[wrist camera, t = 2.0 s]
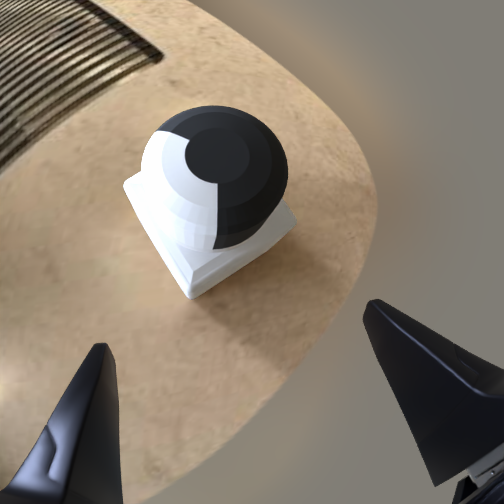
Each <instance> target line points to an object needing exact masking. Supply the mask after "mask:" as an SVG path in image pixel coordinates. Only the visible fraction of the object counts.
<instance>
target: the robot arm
mask: <svg viewBox="0 0 504 504" xmlns="http://www.w3.org/2000/svg"><path fill="white" fill-rule="evenodd" d="M363 323H364V326H365V329H366V331H367V334H368V336H369V339H370V342H371V344H372V347H373V350H374V352H375V355H376V357H377V359H378V362H379V364H380V366H381V367H382V370H383V372H384V374H385V376H386V378H387V380H388V382H389V384H390V386H391V388H392V390H393V392H394V394H395V397H396V399H397V401H398V403H399V405H400V407H401V410H402V412H403V414H404V416H405V418H406V421H407V423H408V425H409V427H410V430H411V432H412V434H413V436H414V439H415V441H416V443H417V446H418V448H419V451H420V453H421V455H422V458H423V460H424V462H425V465H426V467H427V470H428V472H429V475H430V477H431V480H432V482H433V484H434V486H435V487H436V486H438V485H440V484H442V483H443V482H445V481H447V480H449V479H450V478H452V477H453V476H455V475H457V474H458V473H460V472H462V471H463V470H465V469H466V470H467V472H468V475H467V476H465V477H464V478H463V479H461V480H460V481H459V482H458V484H457V488H456V491H455V495H454V498H453V502H452V504H504V369H501V368H499V367H497V366H495V365H493V364H491V363H489V362H487V361H485V360H483V359H481V358H479V357H478V356H476V355H474V354H472V353H470V352H468V351H467V350H465V349H463V348H461V347H460V346H458V345H456V344H453V342H451V341H450V340H448V339H446V338H445V337H443V336H441V335H440V334H438V333H436V332H435V331H433V330H431V329H430V328H428V327H426V326H425V325H423V324H421V323H420V322H418V321H416V320H414V319H412V318H411V317H409V316H408V315H406V314H404V313H403V312H401V311H399V310H397V309H396V308H394V307H392V306H391V305H389V304H387V303H385V302H384V301H382V300H380V299H375V300H370V301H369V302H368V303H367V306H366V309H365V312H364V315H363ZM0 504H123V496H122V484H121V468H120V444H119V399H118V389H117V377H116V364H115V359H114V357H113V354H112V352H111V350H110V348H109V346H108V344H107V343H96V344H94V345H93V347H92V348H91V350H90V351H89V353H88V355H87V356H86V358H85V359H84V361H83V362H82V364H81V366H80V367H79V369H78V371H77V372H76V374H75V375H74V377H73V379H72V380H71V382H70V384H69V385H68V387H67V389H66V391H65V392H64V394H63V396H62V397H61V399H60V401H59V403H58V404H57V406H56V408H55V410H54V411H53V413H52V415H51V417H50V418H49V420H48V422H47V425H45V427H44V429H43V431H42V433H41V435H40V436H39V438H38V440H37V442H36V443H35V445H34V447H33V448H32V450H31V451H30V453H29V454H28V456H27V458H26V459H25V461H24V462H23V464H22V465H21V467H20V468H19V470H18V471H17V473H16V474H15V476H14V477H13V479H12V480H11V482H10V483H9V484H8V485H7V486H6V487H5V488H4V489H3V490H1V491H0Z"/></svg>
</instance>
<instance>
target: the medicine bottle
mask: <svg viewBox="0 0 504 504" xmlns="http://www.w3.org/2000/svg"><path fill="white" fill-rule="evenodd" d="M141 167H142V171H141V172H139V173H138V174H136V175H134V176H133V177H131V178H129V179H127V180H126V181H125V182H124V190H125V192H126V194H127V196H128V198H129V200H130V202H131V204H132V206H133V208H134V210H135V212H136V214H137V216H138V218H139V220H140V222H141V224H142V225H143V227H144V229H145V230H146V232H147V234H148V235H149V237H150V239H151V240H152V242H153V244H154V245H155V247H156V249H157V250H158V252H159V254H160V255H161V257H162V259H163V260H164V262H165V263H166V265H167V267H168V268H169V270H170V271H171V273H172V275H173V276H174V278H175V279H176V281H177V282H178V284H179V286H180V287H181V289H182V290H183V292H184V293H185V295H186V296H187V298H189V299H191V300H192V299H195V298H196V297H198V296H200V295H201V294H203V293H204V292H206V291H207V290H209V289H210V288H212V287H213V286H215V285H216V284H218V283H219V282H221V281H222V280H224V279H225V278H227V277H228V276H230V275H232V274H233V273H235V272H236V271H238V270H239V269H241V268H242V267H244V266H245V265H247V264H248V263H250V262H251V261H253V260H254V259H256V258H257V257H259V256H260V255H262V254H263V253H265V252H266V251H268V250H269V249H270V248H271V247H272V246H273V245H274V244H276V243H277V242H278V241H279V240H280V239H281V238H282V237H283V236H284V235H286V234H287V233H288V232H289V231H290V230H291V229H292V228H293V227H294V226H295V225H296V223H297V219H296V217H295V215H294V214H293V212H292V211H291V210H290V208H289V207H288V205H287V204H286V203H285V201H284V200H283V198H282V197H283V195H284V192H285V189H286V186H287V180H288V165H287V159H286V155H285V152H284V150H283V147H282V145H281V143H280V142H279V140H278V139H277V137H276V136H275V134H274V133H273V132H272V131H271V130H270V129H269V128H268V127H267V126H266V125H265V124H264V123H263V122H261V121H260V120H258V119H257V118H256V117H254V116H252V115H250V114H248V113H246V112H244V111H241V110H238V109H235V108H231V107H225V106H202V107H197V108H192V109H189V110H186V111H183V112H181V113H179V114H177V115H175V116H173V117H172V118H170V119H169V120H167V121H166V122H165V123H164V124H162V125H161V126H160V127H159V128H158V129H157V130H156V132H155V133H154V134H153V136H152V137H151V139H150V140H149V142H148V144H147V146H146V148H145V151H144V155H143V159H142V166H141Z"/></svg>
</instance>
